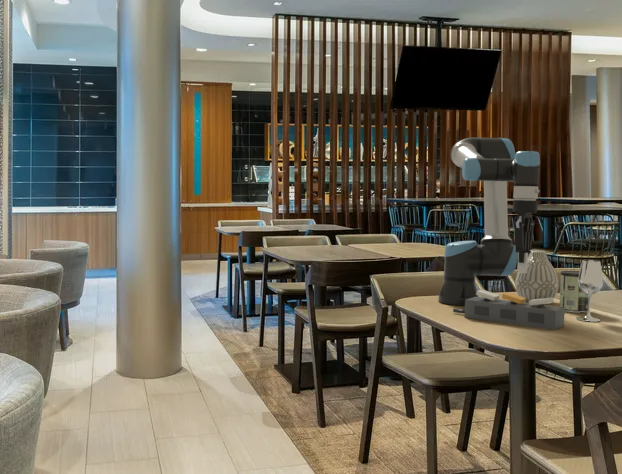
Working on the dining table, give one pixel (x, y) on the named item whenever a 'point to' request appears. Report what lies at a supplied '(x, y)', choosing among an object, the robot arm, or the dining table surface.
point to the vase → (537, 278)
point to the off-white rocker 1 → (488, 295)
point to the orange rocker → (514, 298)
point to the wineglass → (590, 283)
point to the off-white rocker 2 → (541, 301)
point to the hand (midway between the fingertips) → (522, 272)
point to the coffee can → (572, 293)
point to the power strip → (514, 313)
